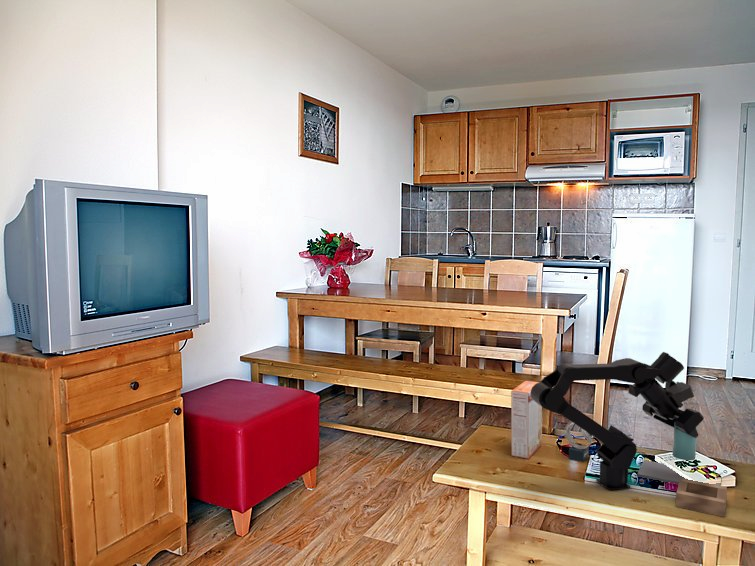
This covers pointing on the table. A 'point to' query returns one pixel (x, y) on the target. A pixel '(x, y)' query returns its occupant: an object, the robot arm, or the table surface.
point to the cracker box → (525, 421)
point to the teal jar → (683, 445)
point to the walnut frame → (701, 497)
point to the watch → (578, 446)
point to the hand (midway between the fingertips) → (689, 433)
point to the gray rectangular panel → (659, 472)
